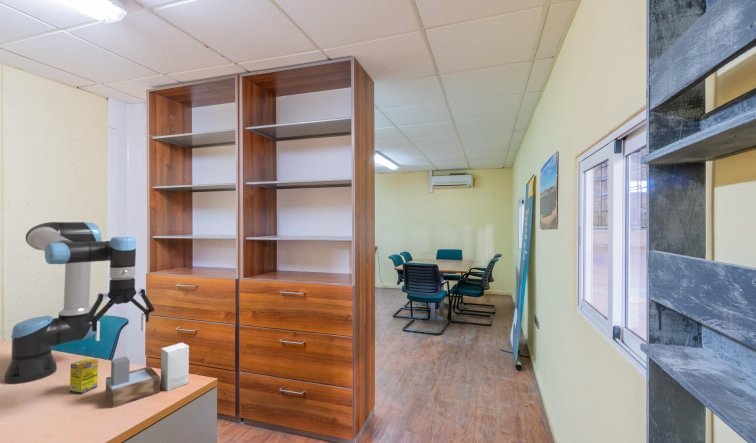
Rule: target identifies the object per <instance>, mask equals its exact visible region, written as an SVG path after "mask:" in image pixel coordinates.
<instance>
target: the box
mask: <svg viewBox="0 0 756 443" xmlns="http://www.w3.org/2000/svg"><path fill="white" fill-rule="evenodd" d="M144 369H145V370H146V371H147V372H148V373H149V375H150V376H151V377H152V378H150V379H147V380H143V381H140V382H136V383H133V384H130V385H126V386H123V387H119V388H116V389H113V392H112V390H111V389H110V387H109V385H108V384H107V379H110V378H111V376H107V377H106V378H105V395H106V398H107V399H108V401H109V403H110V405H111V407H112V408H116V407H120V406H123V405H126V404H129V403H132V402H136V401H139V400H142V399H145V398H148V397H150V396H153V395H157V394H160V384H161V375H159V374H158V373H157V372H156V371H155V370H154V369H153V368H152V366H146V367H142V368H138V369H134V370H131V371H130V370H129V373H133V372H137V371H140V370H144Z"/></svg>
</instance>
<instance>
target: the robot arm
mask: <svg viewBox="0 0 756 443" xmlns="http://www.w3.org/2000/svg"><path fill="white" fill-rule="evenodd" d="M102 237H103V236H102V233H101V230H100V227H99V226H98V225H97V224H96V223H94V222H87V221H86V222H85V221H79V222H78V221H75V222H74V221H66V222H65V221H53V222H52V221H51V222H50V221H49V222H42V223H40V224H37V225H34V226H33V227H31V228H30V229H29V230H28V231H27V233H26V234H25V241H26V243H27V245H29V246H30V247H31V248H32V249H35V250H37V251H38V250H39V251H43V252H44V259H45V262H46V264H49V265H65V266H64V286H63V287H64V288H63V289H64V290H63V292H64V294H63V308H62V310H60V311H59V312H58V317H56V318H53V316H52V315H44V316H36V317H32V318H31V317H30V318H29V319H26V320H22V321H19V322H17V323H16V324H15V325H14V326H13V327H12V332H11V357H10V358H11V359H10V363H9V365H8V367H7V369H6V371H5V374H4V381H5V383H6V384H22V383H28V382H33V381H36V380H40V379H43V378H46V377H48V376H50V375H53V374H54V373H56V371H57V370H58V369H57V368H58V364H57V362H56V359H55V358H54V356H53V353H52V348H53V347H55V346H59V345H63V344H68V343H73V342H77V341H78V342H79V341H82V340H85V339H90V338H91V337H93V336H94V335H95V336H94V338H95V339H94V340H95V341H96V342H98V341H99V342H100V338H101V337H100V336H101V334H100V332H101V321H99V320H100V319H101V318H102V317H103V316H104V315H105V314H106V313H107V312H108V311H109V310H110V308H112V307H113V306H114V305H115V304H116V305H121V304H128V303H129V302H131V303H132V304H133V305H134V306H136V308H138V309H139V310H141V311H142V312H143V313H140V314H141V316H140V319H141V320H140V323H141V324H140V327H141V328H140V331H142V333H144V332H145V333H146V323H148V322H149V318H150V316H149V315H150V314H151V313H152V312H154V311H155V310H156V309H155V308H154V306H153V304H152V303H151V301H150V299H149V298H148V296H147V295H146V289H144V288H139V289H136V278H135V277H136V260H137V258H136V255H137V253H136V251H137V239H136V238H135V237H134V236H112V237H111V238H110V240H105V241H102ZM93 262H109V279H110V280H109V283H108V284H109V287H108V288H109V289H108V290H109V291H108V293H101V292H99V293H98V294H97V299H96V301H95V302H94V303H93V306H92V307H91V306H90V294H91V293H90V291H91V290H90V288H91V287H90V286H91V268H92V266H91V264H92V263H93ZM136 295H139V296H140V297H141V300H143V303H144V304H145V305H146V307H147V308H146V307H145V306H143V305H142V304H140V302H139V301H137V300H136V299H135V296H136ZM106 298H108V299H109V301H107V303H106V304H105V305H104V306H103V307H102V308H101V309H100V310H98V309H99V308H100V306H101V305H102V302H103V301H104V300H106ZM97 311H99V312H97Z"/></svg>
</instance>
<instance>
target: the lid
mask: <svg viewBox="0 0 756 443" xmlns="http://www.w3.org/2000/svg"><path fill="white" fill-rule="evenodd" d="M110 363H111V364H110V366H111V367H110V369H111V370H110V377H111V378H110V379H107V384H108V385H109V387H110V389H111V390H112V392H113V389H116V388H119V387H123V386H126V385H130V384H133V383H136V382H140V381H143V380H147V379H150V378H152V377H151V376H150V375H149V373H148V372H147V371H146V370H145V369H144V370H140V371H137V372H133V373H129V372H130V359H129V357H128V356H122V357H117V358H114V359H111V362H110Z"/></svg>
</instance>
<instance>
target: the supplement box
mask: <svg viewBox="0 0 756 443" xmlns="http://www.w3.org/2000/svg"><path fill="white" fill-rule="evenodd" d="M98 372H99V359H97V358H89V357H86V358H83V359H81V360H79V361H75V362H73V363H70V375H69V393H70V394H71V393H72V394H78V395H82V394H84V393H87V392H89V391H91V390H93V389H96V388H97V387H98V375H99V373H98Z"/></svg>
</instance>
